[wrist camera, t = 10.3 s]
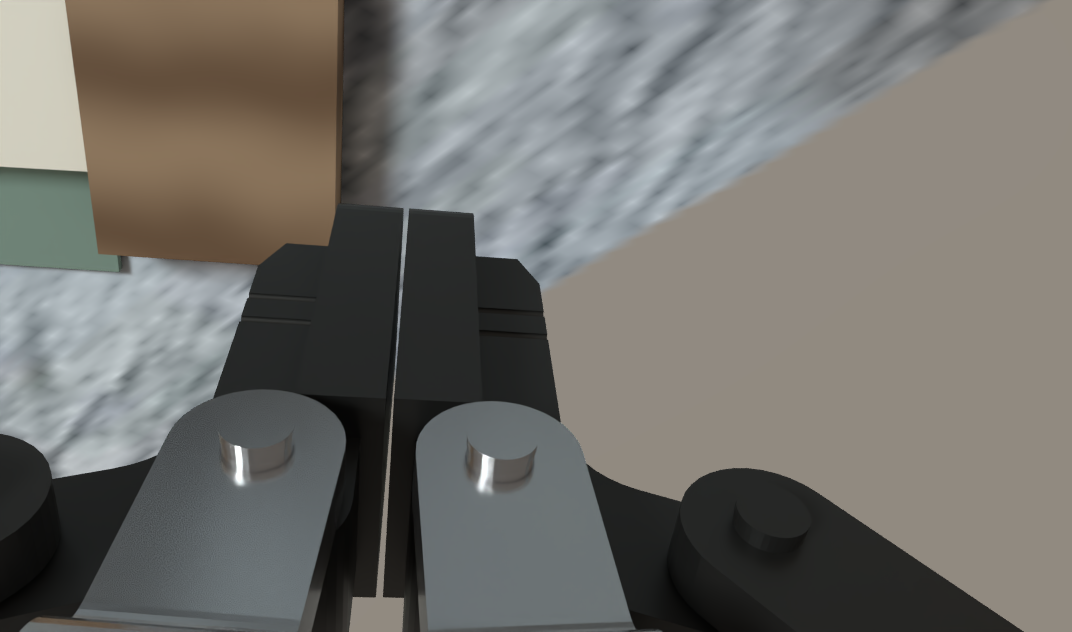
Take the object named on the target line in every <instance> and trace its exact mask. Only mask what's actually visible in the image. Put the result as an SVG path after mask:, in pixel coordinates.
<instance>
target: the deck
mask: <svg viewBox="0 0 1072 632" xmlns="http://www.w3.org/2000/svg"><path fill="white" fill-rule="evenodd" d="M65 5H66V13H67V20H68V28H69V36H70V43H71V51H72V58H73V66H74V74H75V81H76V89H77V96H78V104H79V111H80V119H81V127H82V134H83V142H84V149H85V157H86V165H87V172H88V180H89V187H90V195H91V203H92V210H93V218H94V225H95V233H96V241H97V248H98V254H104V255H119V256H134V257H149V258H164V259H178V260H193V261H208V262H223V263H237V264H252V265H260V264H261V263H262V262H263V261H265V260H266V259H267V258H268V257H270V256H271V255H272V254H273V253H275V252H276V251H277V250H278V249H280V248H281V247H282V246H283V245H285V244H286V243H291V244H305V245H319V246H328V244H329V240H330V235H331V231H332V226H333V222H334V217H335V213H336V208H337V205H338V203H341V167H342V109H343V51H344V0H65Z"/></svg>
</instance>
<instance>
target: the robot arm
mask: <svg viewBox="0 0 1072 632" xmlns="http://www.w3.org/2000/svg"><path fill="white" fill-rule="evenodd" d="M402 232H403V208H393V207H380V206H367V205H354V204H341V203H338V205H337V208H336V213H335V217H334V222H333V226H332V231H331V235H330V240H329V244H328V246H319V245H305V244H291V243H286V244H285V245H283V246H282V247H281V248H280V249H278V250H277V251H276V252H275V253H273V254H272V255H271V256H270V257H268V258H267V259H266V260H265V261H263V262H262V263H261V264H260V265H259V266H258V268H257V271H256V274H255V277H254V280H253V283H252V286H251V289H250V292H249V298H247V301H246V304H245V307H244V310H243V313H242V315H241V322H240V321H239V324H238V327H237V330H236V333H235V336H234V339H233V342H232V345H231V348H230V351H229V354H228V357H227V359H226V362H225V365H224V368H223V371H222V374H221V377H220V380H219V383H218V386H217V389H216V392H215V395H214V398H213V399H211V400H208V401H206V402H204V403H202V404H200V405H198V406H196V407H194V408H193V409H191V410H190V411H189V412H187V413H186V414H185V415H183V416H182V417H181V418H180V419H179V420H178V421H177V422H176V423H175V424H174V426H173V427H172V429H171V430H170V432H169V434H168V435H167V437H166V439H165V441H164V443H163V445H162V447H161V449H160V451H159V453H158V455H157V456H154V457H152V458H150V459H147V460H144V461H141V462H138V463H135V464H131V465H127V466H123V467H118V468H114V469H108V470H102V471H97V472H91V473H85V474H79V475H73V476H68V477H62V478H56V479H52V475H51V471H50V467H49V464H48V462H47V460H46V459H45V457H44V456H43V454H42V453H41V452H39V451H38V450H37V449H36V448H35V447H34V446H32V445H30V444H29V443H27V442H25V441H23V440H20V439H17V438H15V437H12V436H8V435H3V434H0V632H349V626H350V616H351V608H352V598H353V597H376V588H377V575H378V564H379V552H380V540H381V528H382V516H383V503H384V492H385V480H386V468H387V455H388V444H389V432H390V419H391V407H392V395H393V383H394V370H395V356H396V340H397V323H398V305H399V287H400V269H401V251H402ZM543 312H544V311H543V304H542V298H541V291H540V285H539V283H538V282H537V281H536V280H535V279H534V278H533V276H532V275H531V274H530V273H529V272H528V271H527V270H526V269H525V267H524V266H523V265H522V264H521V263H520V262H519V261H518V260H517V259H506V258H492V257H478V256H476V253H475V232H474V215H473V213H461V212H448V211H435V210H422V209H409V218H408V231H407V243H406V256H405V268H404V281H403V293H402V306H401V318H400V331H399V343H398V356H397V368H396V381H395V394H394V409H393V427H392V445H391V463H390V481H389V499H388V518H387V536H386V553H385V571H384V589H383V597H395V598H404V612H403V613H404V614H403V631H402V632H1023V631H1022V630H1020V629H1019V628H1017V627H1016V626H1014V625H1013V624H1012V623H1010V622H1009V621H1007V620H1006V619H1004V618H1003V617H1001V616H1000V615H998V614H997V613H995V612H994V611H992V610H991V609H989V608H988V607H986V606H985V605H983V604H982V603H980V602H979V601H977V600H976V599H974V598H973V597H971V596H970V595H968V594H967V593H965V592H964V591H963V590H961V589H960V588H958V587H957V586H955V585H954V584H952V583H950V582H949V581H948V580H946V579H945V578H943V577H942V576H940V575H939V574H937V573H936V572H934V571H933V570H931V569H930V568H928V567H927V566H925V565H924V564H922V563H921V562H919V561H918V560H917V559H915V558H914V557H912V556H910V555H909V554H908V553H906V552H905V551H903V550H902V549H900V548H899V547H897V546H896V545H894V544H893V543H891V542H890V541H888V540H887V539H885V538H884V537H882V536H881V535H879V534H878V533H876V532H875V531H873V530H872V529H870V528H869V527H868V526H866V525H864V524H863V523H862V522H860V521H859V520H857V519H856V518H854V517H852V516H851V515H850V514H848V513H847V512H845V511H844V510H842V509H841V508H839V507H838V506H836V505H835V504H833V503H832V502H830V501H829V500H827V499H826V498H824V497H823V496H822V495H820V494H819V493H817V492H815V491H814V490H812V489H810V488H809V487H807V486H805V485H803V484H801V483H799V482H797V481H795V480H793V479H791V478H788V477H785V476H782V475H779V474H776V473H772V472H768V471H764V470H757V469H749V468H732V469H725V470H719V471H716V472H712V473H709V474H707V475H705V476H703V477H701V478H699V479H698V480H697V481H695V482H694V483H693V484H692V485H691V486H690V487H689V488H688V489H687V491H686V492H685V494H684V496H683V499H682V501H681V502H680V501H677V500H673V499H669V498H666V497H662V496H659V495H655V494H651V493H648V492H644V491H640V490H637V489H634V488H631V487H628V486H625V485H622V484H620V483H618V482H616V481H613V480H611V479H609V478H607V477H605V476H604V475H602V474H600V473H599V472H597V471H595V470H594V469H593V468H591V467H590V466H589V465H587V464H586V461H585V458H584V455H583V451H582V449H581V447H580V444H579V442H578V441H577V440H576V438H575V437H574V435H573V434H572V433H571V432H570V431H569V430H568V429H567V428H566V427H565V426H564V425H563V424H561V421H560V414H559V408H558V401H557V395H556V388H555V382H554V376H553V369H552V363H551V357H550V350H549V343H548V340H547V330H546V324H545V318H544V317H543Z"/></svg>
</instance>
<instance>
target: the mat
mask: <svg viewBox="0 0 1072 632" xmlns="http://www.w3.org/2000/svg"><path fill="white" fill-rule="evenodd" d="M0 264H4V265H20V266H35V267H50V268H65V269H81V270H96V271H111V272H120V270H121V268H122V263H121V256H119V255H104V254H98V248H97V241H96V233H95V225H94V218H93V210H92V203H91V195H90V187H89V180H88V172H85V171H68V170H50V169H33V168H16V167H0Z"/></svg>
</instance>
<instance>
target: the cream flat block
mask: <svg viewBox="0 0 1072 632" xmlns="http://www.w3.org/2000/svg"><path fill="white" fill-rule="evenodd" d="M0 167H16V168H33V169H50V170H68V171H85V172H87V165H86V157H85V149H84V142H83V134H82V127H81V119H80V111H79V104H78V96H77V89H76V81H75V74H74V66H73V58H72V51H71V43H70V36H69V28H68V20H67V13H66V5H65V0H0Z"/></svg>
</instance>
